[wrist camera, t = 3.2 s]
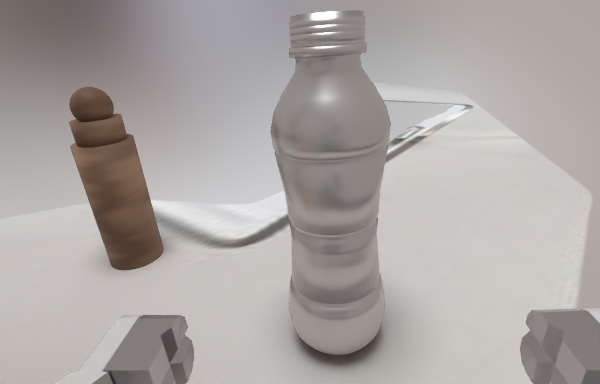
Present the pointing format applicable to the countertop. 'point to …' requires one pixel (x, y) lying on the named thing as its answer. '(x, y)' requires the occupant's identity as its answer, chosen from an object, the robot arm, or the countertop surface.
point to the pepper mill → (113, 181)
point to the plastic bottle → (332, 182)
